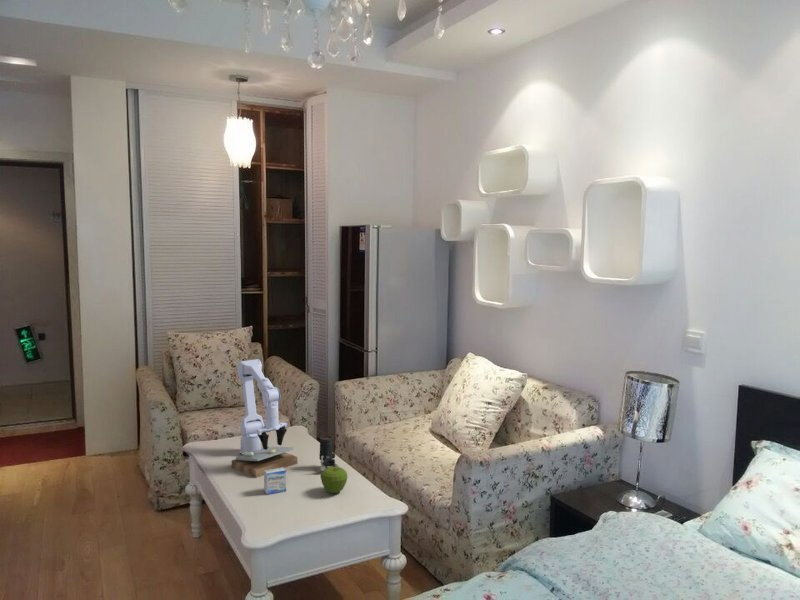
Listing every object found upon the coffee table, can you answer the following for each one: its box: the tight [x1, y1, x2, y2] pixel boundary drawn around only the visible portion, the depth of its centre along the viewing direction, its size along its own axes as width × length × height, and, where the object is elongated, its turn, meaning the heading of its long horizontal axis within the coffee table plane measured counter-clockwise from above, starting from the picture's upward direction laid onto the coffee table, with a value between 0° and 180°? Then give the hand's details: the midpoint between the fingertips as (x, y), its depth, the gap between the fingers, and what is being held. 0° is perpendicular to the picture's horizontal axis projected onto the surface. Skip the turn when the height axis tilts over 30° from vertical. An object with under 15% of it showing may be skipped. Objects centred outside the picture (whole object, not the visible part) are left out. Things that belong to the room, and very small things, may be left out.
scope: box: [318, 435, 340, 473], centre depth 264 cm, size 8×14×10 cm
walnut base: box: [231, 452, 298, 478], centre depth 269 cm, size 18×22×3 cm
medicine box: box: [263, 467, 287, 495], centre depth 241 cm, size 8×4×9 cm, turn 117°
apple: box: [320, 466, 349, 494], centre depth 240 cm, size 11×10×10 cm
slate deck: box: [235, 446, 294, 461], centre depth 269 cm, size 17×19×3 cm
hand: (272, 447), depth 264 cm, fingers open, 7 cm apart
